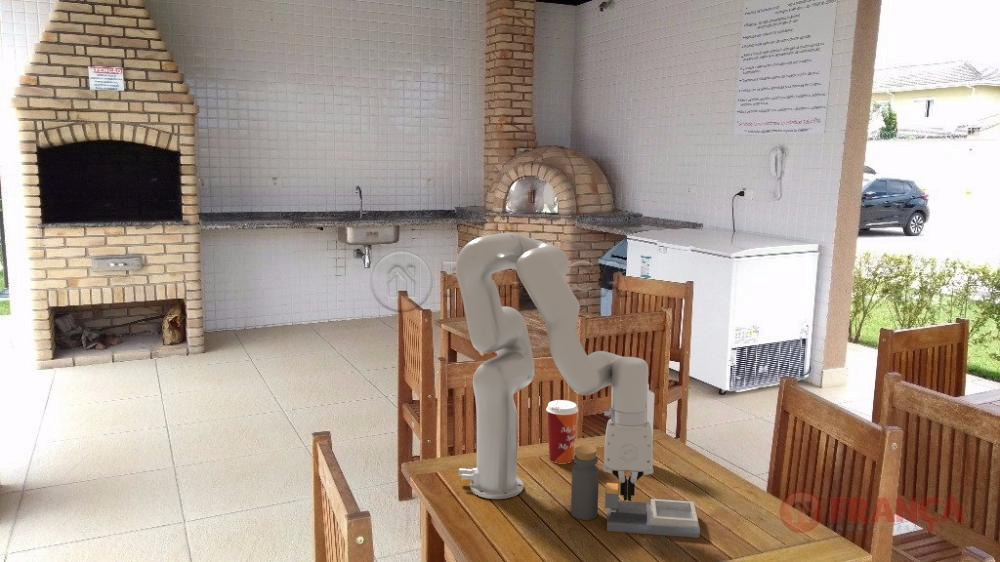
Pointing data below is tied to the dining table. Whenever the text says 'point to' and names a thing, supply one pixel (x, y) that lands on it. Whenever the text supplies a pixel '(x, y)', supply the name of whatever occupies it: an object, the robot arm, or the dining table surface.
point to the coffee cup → (561, 430)
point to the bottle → (585, 484)
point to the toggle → (612, 496)
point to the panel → (655, 518)
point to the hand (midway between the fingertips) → (627, 498)
